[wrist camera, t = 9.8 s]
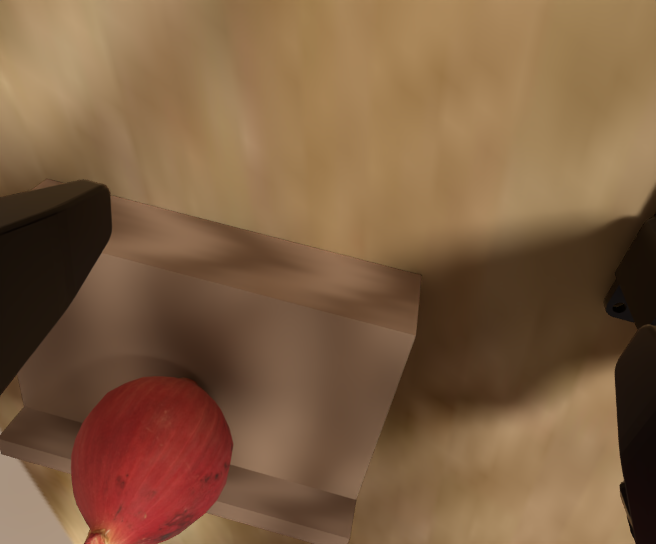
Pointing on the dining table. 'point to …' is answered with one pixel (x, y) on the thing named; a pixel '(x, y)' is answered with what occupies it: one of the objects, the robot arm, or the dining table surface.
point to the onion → (149, 460)
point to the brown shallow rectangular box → (233, 358)
